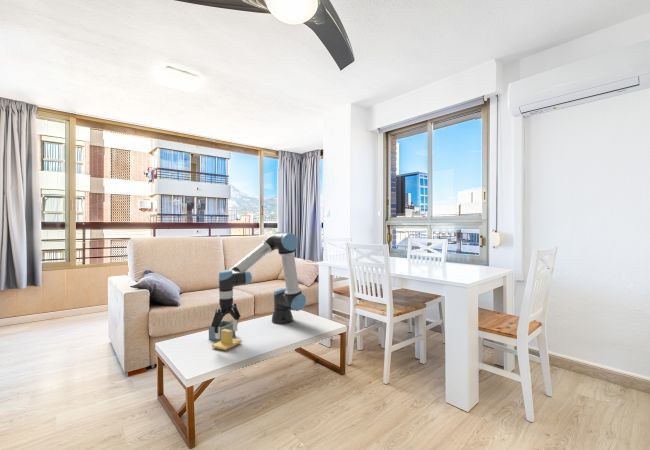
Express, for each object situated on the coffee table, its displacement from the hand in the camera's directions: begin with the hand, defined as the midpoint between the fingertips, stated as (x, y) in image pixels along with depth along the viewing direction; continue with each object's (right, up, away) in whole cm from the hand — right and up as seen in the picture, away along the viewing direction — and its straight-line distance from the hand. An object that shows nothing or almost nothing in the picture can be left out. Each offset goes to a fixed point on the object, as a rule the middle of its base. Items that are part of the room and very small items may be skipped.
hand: (226, 334), depth 178 cm
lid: (0, -6, 0) cm, 6 cm away
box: (-7, -7, +14) cm, 17 cm away
